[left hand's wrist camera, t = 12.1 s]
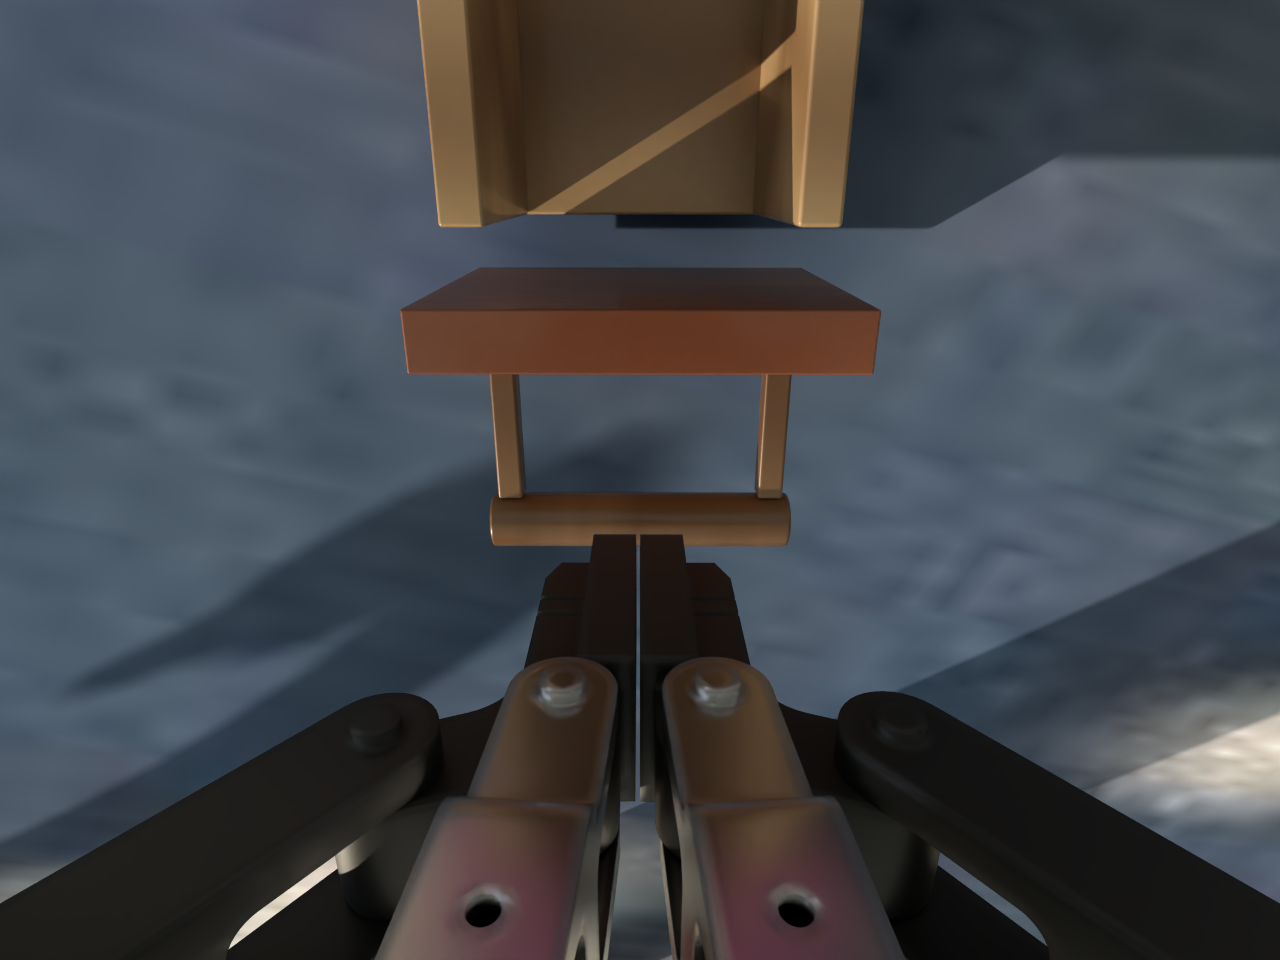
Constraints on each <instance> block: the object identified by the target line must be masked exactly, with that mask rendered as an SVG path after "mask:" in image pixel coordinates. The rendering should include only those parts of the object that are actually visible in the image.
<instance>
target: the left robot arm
mask: <svg viewBox="0 0 1280 960" xmlns="http://www.w3.org/2000/svg"><path fill="white" fill-rule="evenodd" d="M635 766H636V534H594V535H593V542H592V550H591V557H590V563H561V564H560V565H559V566H558V567H557V568H556V569H555V570H554V571H553V572H552V573H551V574H550V575H549V576H548V577H547V578H546V579H545V583H544V587H543V591H542V596H541V600H540V604H539V608H538V616H537V617H536V621H535V625H534V629H533V633H532V637H531V642H530V646H529V650H528V654H527V658H526V663H525V667H524V669H523V670H522V671H520V672H519V673H518V674H517V675H516V676H515V677H514V678H513V679H512V681H511V682H510V684H509V686H508V688H507V691H506V694H505V696H504V697H503V698H502V699H500V700H499V701H497V702H495V703H493V704H491V705H489V706H487V707H484V708H482V709H479V710H476V711H472V712H469V713H465V714H460V715H456V716H451V717H447V718H442V719H439V716H438V713H437V710H436V709H435V708H434V706H433V705H432V704H431V703H429V702H428V701H427V700H425V699H423V698H421V697H419V696H415V695H412V694H406V693H385V694H379V695H373V696H370V697H366V698H363V699H360V700H358V701H355V702H353V703H351V704H349V705H347V706H345V707H343V708H341V709H340V710H338V711H336V712H334V713H333V714H331V715H329V716H327V717H326V718H324V719H322V720H320V721H319V722H317V723H315V724H313V725H312V726H310V727H308V728H306V729H305V730H303V731H301V732H299V733H298V734H296V735H294V736H292V737H291V738H289V739H287V740H285V741H284V742H282V743H280V744H278V745H277V746H275V747H273V748H271V749H270V750H268V751H266V752H264V753H263V754H261V755H259V756H257V757H256V758H254V759H252V760H250V761H249V762H247V763H245V764H243V765H242V766H240V767H238V768H236V769H235V770H233V771H231V772H229V773H228V774H226V775H224V776H222V777H221V778H219V779H217V780H215V781H214V782H212V783H210V784H208V785H207V786H205V787H203V788H201V789H200V790H198V791H196V792H194V793H193V794H191V795H189V796H187V797H186V798H184V799H182V800H180V801H179V802H177V803H175V804H173V805H172V806H170V807H168V808H166V809H165V810H163V811H161V812H159V813H158V814H156V815H154V816H152V817H151V818H149V819H147V820H145V821H144V822H142V823H140V824H138V825H137V826H135V827H133V828H131V829H130V830H128V831H126V832H124V833H123V834H121V835H119V836H117V837H116V838H114V839H112V840H110V841H109V842H107V843H105V844H103V845H102V846H100V847H98V848H96V849H95V850H93V851H91V852H89V853H88V854H86V855H84V856H82V857H81V858H79V859H77V860H75V861H74V862H72V863H70V864H68V865H67V866H65V867H63V868H61V869H60V870H58V871H56V872H54V873H53V874H51V875H49V876H47V877H46V878H44V879H42V880H40V881H39V882H37V883H35V884H33V885H32V886H30V887H28V888H26V889H25V890H23V891H21V892H19V893H18V894H16V895H14V896H12V897H11V898H9V899H7V900H5V901H4V902H2V903H0V960H607V959H608V951H609V942H610V934H611V926H612V917H613V909H614V900H615V892H616V883H617V875H618V867H619V858H620V801H635ZM640 802H655V823H656V830H657V832H658V835H659V837H660V858H661V867H662V875H663V883H664V892H665V900H666V909H667V917H668V926H669V934H670V942H671V951H672V959H673V960H1280V903H1278V902H1276V901H1274V900H1273V899H1271V898H1269V897H1267V896H1266V895H1264V894H1262V893H1260V892H1259V891H1257V890H1255V889H1253V888H1252V887H1250V886H1248V885H1246V884H1245V883H1243V882H1241V881H1239V880H1238V879H1236V878H1234V877H1232V876H1231V875H1229V874H1227V873H1225V872H1224V871H1222V870H1220V869H1218V868H1217V867H1215V866H1213V865H1211V864H1210V863H1208V862H1206V861H1205V860H1203V859H1201V858H1199V857H1198V856H1196V855H1194V854H1192V853H1191V852H1189V851H1187V850H1185V849H1184V848H1182V847H1180V846H1178V845H1177V844H1175V843H1173V842H1171V841H1170V840H1168V839H1166V838H1164V837H1163V836H1161V835H1159V834H1157V833H1156V832H1154V831H1152V830H1150V829H1149V828H1147V827H1145V826H1143V825H1142V824H1140V823H1138V822H1136V821H1135V820H1133V819H1131V818H1129V817H1128V816H1126V815H1124V814H1122V813H1121V812H1119V811H1117V810H1115V809H1114V808H1112V807H1110V806H1108V805H1107V804H1105V803H1103V802H1101V801H1100V800H1098V799H1096V798H1094V797H1093V796H1091V795H1089V794H1087V793H1086V792H1084V791H1082V790H1080V789H1079V788H1077V787H1075V786H1073V785H1072V784H1070V783H1068V782H1066V781H1065V780H1063V779H1061V778H1059V777H1058V776H1056V775H1054V774H1052V773H1051V772H1049V771H1047V770H1045V769H1044V768H1042V767H1040V766H1038V765H1037V764H1035V763H1033V762H1031V761H1030V760H1028V759H1026V758H1024V757H1023V756H1021V755H1019V754H1017V753H1016V752H1014V751H1012V750H1010V749H1009V748H1007V747H1005V746H1003V745H1002V744H1000V743H998V742H996V741H995V740H993V739H991V738H989V737H988V736H986V735H984V734H982V733H981V732H979V731H977V730H975V729H974V728H972V727H970V726H968V725H967V724H965V723H963V722H961V721H960V720H958V719H956V718H954V717H953V716H951V715H949V714H947V713H946V712H944V711H942V710H940V709H939V708H937V707H935V706H933V705H931V704H929V703H927V702H926V701H924V700H921V699H918V698H916V697H913V696H909V695H906V694H902V693H896V692H886V691H876V692H868V693H863V694H860V695H857V696H855V697H853V698H851V699H850V700H848V701H847V702H846V703H845V704H844V705H843V707H842V708H841V710H840V712H839V716H838V720H835V719H831V718H827V717H822V716H818V715H813V714H809V713H805V712H801V711H798V710H795V709H792V708H790V707H787V706H785V705H783V704H781V703H779V702H778V701H777V699H776V696H775V694H774V691H773V688H772V686H771V684H770V682H769V681H768V679H767V678H766V677H765V676H764V675H763V674H762V673H761V672H760V671H758V670H757V669H755V668H754V667H752V666H750V661H749V657H748V653H747V648H746V644H745V640H744V635H743V631H742V627H741V622H740V618H739V616H738V609H737V605H736V600H735V596H734V592H733V587H732V583H731V579H730V578H729V577H728V576H727V575H726V574H725V573H724V572H723V571H722V570H721V569H720V568H719V567H718V566H717V565H716V564H715V563H686V557H685V549H684V541H683V535H682V534H640ZM940 852H941V853H942V854H944V855H945V856H946V857H948V858H949V859H950V860H952V861H953V862H955V863H956V864H957V865H959V866H960V867H961V868H963V869H964V870H966V871H967V872H968V873H970V874H971V875H972V876H974V877H975V878H977V879H978V880H979V881H981V882H982V883H983V884H985V885H986V886H988V887H989V888H990V889H992V890H993V891H994V892H996V893H997V894H999V895H1000V896H1001V897H1003V898H1004V899H1006V900H1007V901H1008V902H1010V903H1011V904H1012V905H1014V906H1015V907H1017V908H1018V909H1019V910H1020V911H1022V912H1023V913H1024V914H1025V915H1026V916H1027V917H1028V918H1029V919H1030V920H1031V921H1032V922H1033V923H1034V924H1035V926H1036V927H1037V928H1038V930H1039V931H1040V932H1041V934H1042V936H1043V938H1044V939H1045V942H1046V944H1047V946H1048V947H1047V946H1046V945H1045V944H1043V943H1042V942H1041V941H1039V940H1038V939H1037V938H1035V937H1034V936H1032V935H1031V934H1030V933H1028V932H1027V931H1026V930H1024V929H1023V928H1022V927H1020V926H1019V925H1018V924H1016V923H1015V922H1014V921H1012V920H1011V919H1010V918H1008V917H1007V916H1006V915H1004V914H1003V913H1002V912H1000V911H999V910H997V909H996V908H995V907H993V906H992V905H991V904H989V903H988V902H987V901H985V900H984V899H983V898H981V897H980V896H979V895H977V894H976V893H975V892H973V891H972V890H971V889H969V888H968V887H967V886H965V885H964V884H962V883H961V882H960V881H958V880H957V879H956V878H954V877H953V876H952V875H950V874H949V873H948V872H946V871H945V870H944V869H942V868H941V867H940V866H938V860H939V855H940ZM334 856H335V858H336V863H337V867H338V869H336V870H335V871H334V872H332V873H331V874H330V875H328V876H327V877H326V878H324V879H323V880H322V881H320V882H319V883H317V884H316V885H315V886H313V887H312V888H311V889H309V890H308V891H307V892H305V893H304V894H303V895H301V896H300V897H299V898H297V899H296V900H295V901H293V902H292V903H291V904H289V905H288V906H287V907H285V908H284V909H283V910H281V911H280V912H278V913H277V914H276V915H274V916H273V917H272V918H270V919H269V920H268V921H266V922H265V923H264V924H262V925H261V926H260V927H258V928H257V929H256V930H254V931H253V932H252V933H250V934H249V935H248V936H246V937H245V938H243V939H242V940H241V941H239V942H238V943H237V944H235V945H234V946H233V947H231V948H230V949H229V947H230V944H231V942H232V940H233V939H234V937H235V935H236V934H237V932H238V931H239V930H240V928H241V927H242V926H243V925H244V924H245V923H246V922H247V921H248V920H249V919H250V918H251V917H252V916H253V915H254V914H255V913H257V912H258V911H259V910H261V909H262V908H263V907H265V906H266V905H268V904H269V903H270V902H272V901H273V900H274V899H276V898H277V897H279V896H280V895H281V894H283V893H284V892H285V891H287V890H288V889H290V888H291V887H292V886H294V885H295V884H296V883H298V882H299V881H301V880H302V879H303V878H305V877H306V876H307V875H309V874H310V873H312V872H313V871H314V870H316V869H317V868H318V867H320V866H321V865H323V864H324V863H325V862H327V861H328V860H330V859H331V858H332V857H334ZM228 949H229V950H228Z"/></svg>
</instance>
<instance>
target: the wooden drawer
mask: <svg viewBox="0 0 1280 960" xmlns="http://www.w3.org/2000/svg"><path fill="white" fill-rule="evenodd" d="M864 1H865V0H417V5H418V15H419V26H420V36H421V46H422V57H423V67H424V77H425V88H426V98H427V109H428V119H429V129H430V140H431V150H432V160H433V171H434V181H435V191H436V202H437V212H438V222H439V225H440V226H441V227H483V226H487V225H490V224H494V223H497V222H501V221H504V220H508V219H512V218H515V217H519V216H522V215H526V214H756V215H759V216H763V217H766V218H770V219H773V220H777V221H781V222H784V223H788V224H791V225H795V226H799V227H839V226H841V225H842V223H843V214H844V204H845V193H846V183H847V173H848V163H849V153H850V143H851V133H852V123H853V113H854V102H855V92H856V82H857V72H858V62H859V52H860V42H861V32H862V22H863V11H864ZM400 314H401V323H402V331H403V339H404V347H405V356H406V364H407V372H408V374H489V378H490V391H491V404H492V416H493V429H494V442H495V455H496V468H497V481H498V493H495V494H494V495H493V498H492V501H491V507H490V534H491V539H492V542H493V544H494V545H496V546H592V542H593V535H594V534H636V546H640V534H682V535H683V541H684V546H785V545H787V543H788V540H789V537H790V530H791V511H790V504H789V500H788V497H787V495H786V494H785V493H782V488H783V476H784V463H785V451H786V438H787V426H788V413H789V401H790V388H791V376H792V375H871V374H873V372H874V365H875V357H876V349H877V341H878V333H879V325H880V317H881V310H879V309H877V308H876V307H874V306H872V305H870V304H868V303H866V302H864V301H862V300H860V299H859V298H857V297H855V296H853V295H851V294H849V293H847V292H845V291H843V290H842V289H840V288H838V287H836V286H834V285H832V284H830V283H828V282H827V281H825V280H823V279H821V278H819V277H817V276H815V275H813V274H811V273H810V272H808V271H806V270H804V269H802V268H478V269H476V270H474V271H473V272H471V273H469V274H467V275H465V276H463V277H461V278H459V279H458V280H456V281H454V282H452V283H450V284H448V285H446V286H444V287H442V288H441V289H439V290H437V291H435V292H433V293H431V294H429V295H427V296H426V297H424V298H422V299H420V300H418V301H416V302H414V303H412V304H410V305H409V306H407V307H405V308H403V309H401V311H400ZM519 374H638V375H762V382H761V397H760V413H759V428H758V444H757V459H756V475H755V491H756V493H666V492H525V489H526V481H525V465H524V449H523V433H522V417H521V401H520V385H519Z"/></svg>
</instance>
